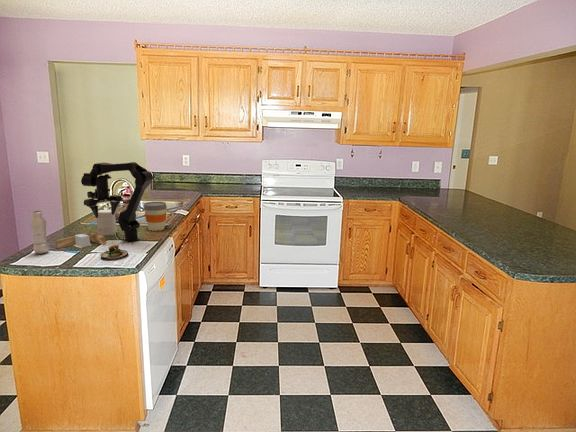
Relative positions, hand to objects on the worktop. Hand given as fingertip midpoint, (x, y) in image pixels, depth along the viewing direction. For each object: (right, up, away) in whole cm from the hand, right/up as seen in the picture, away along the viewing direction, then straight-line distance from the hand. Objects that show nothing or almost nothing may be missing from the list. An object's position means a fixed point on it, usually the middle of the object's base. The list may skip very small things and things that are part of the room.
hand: (104, 216), depth 210 cm
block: (-6, -14, -10) cm, 19 cm away
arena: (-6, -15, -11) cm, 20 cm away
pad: (-6, -15, -10) cm, 19 cm away
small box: (-3, -10, +11) cm, 15 cm away
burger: (+16, -19, -25) cm, 35 cm away
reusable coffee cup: (+20, -7, +23) cm, 31 cm away
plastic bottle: (-19, -17, -22) cm, 34 cm away
